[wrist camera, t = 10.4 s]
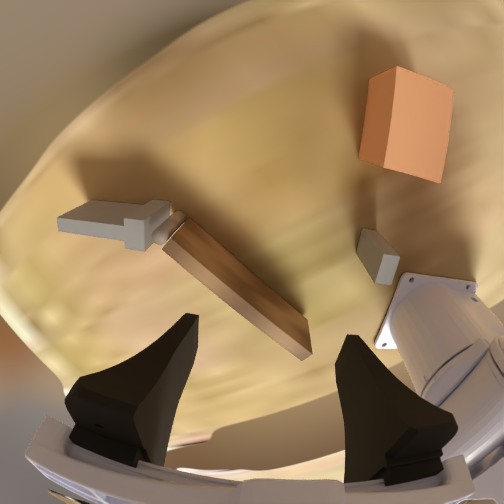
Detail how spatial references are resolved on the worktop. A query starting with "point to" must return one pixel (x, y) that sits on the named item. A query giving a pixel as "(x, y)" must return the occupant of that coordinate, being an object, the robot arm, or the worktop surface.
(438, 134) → the terracotta rectangular block
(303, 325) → the gate door
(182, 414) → the worktop surface
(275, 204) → the worktop surface
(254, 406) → the worktop surface
